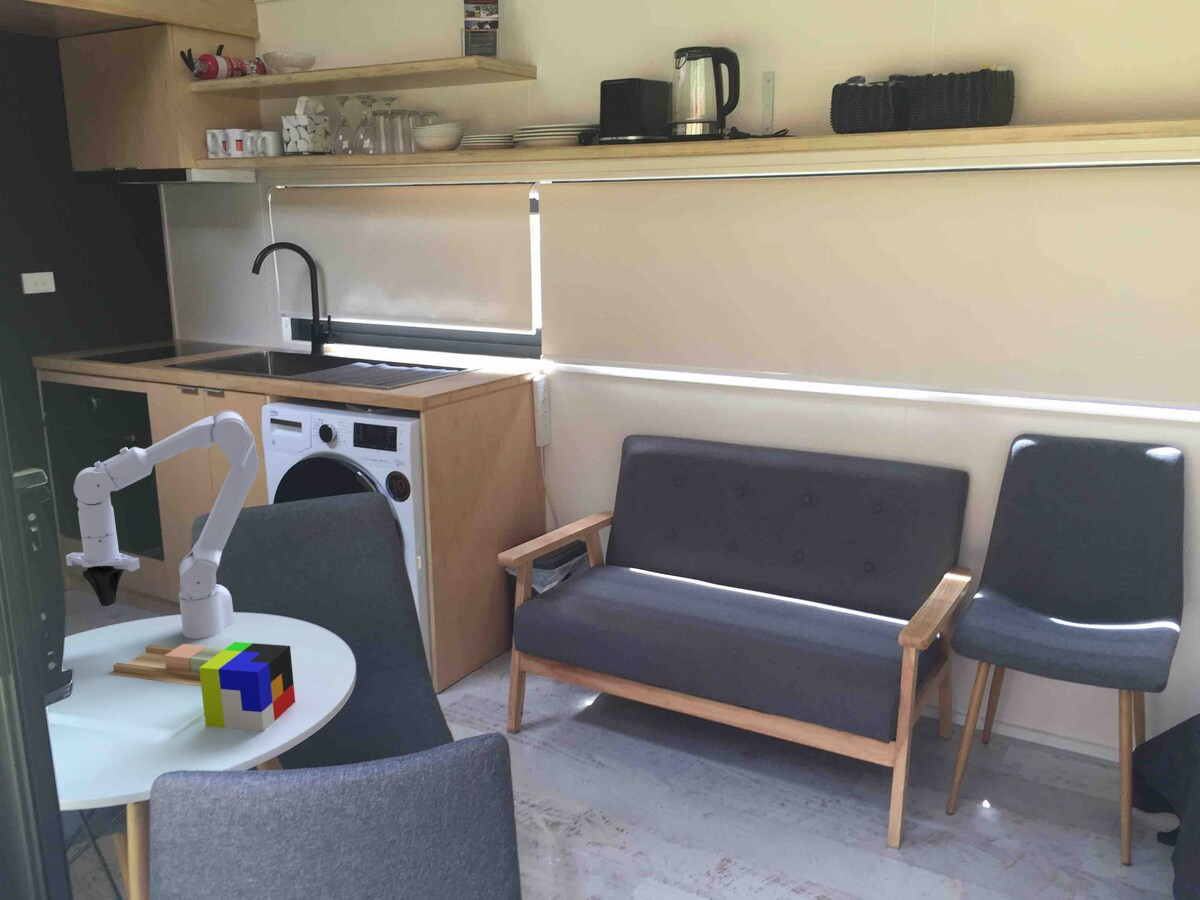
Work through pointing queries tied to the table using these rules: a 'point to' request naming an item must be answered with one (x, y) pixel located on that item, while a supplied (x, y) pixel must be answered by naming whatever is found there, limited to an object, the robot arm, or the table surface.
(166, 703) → the table surface
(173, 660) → the peach pink cube
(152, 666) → the oak channel board
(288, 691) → the puzzle toy
